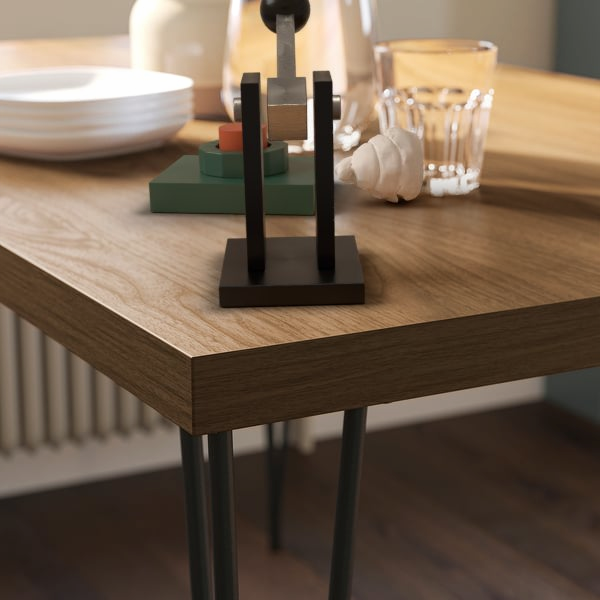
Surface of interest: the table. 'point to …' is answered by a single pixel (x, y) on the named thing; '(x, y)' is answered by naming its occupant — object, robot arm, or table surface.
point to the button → (236, 137)
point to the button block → (234, 182)
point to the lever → (286, 71)
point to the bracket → (290, 250)
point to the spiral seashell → (386, 165)
